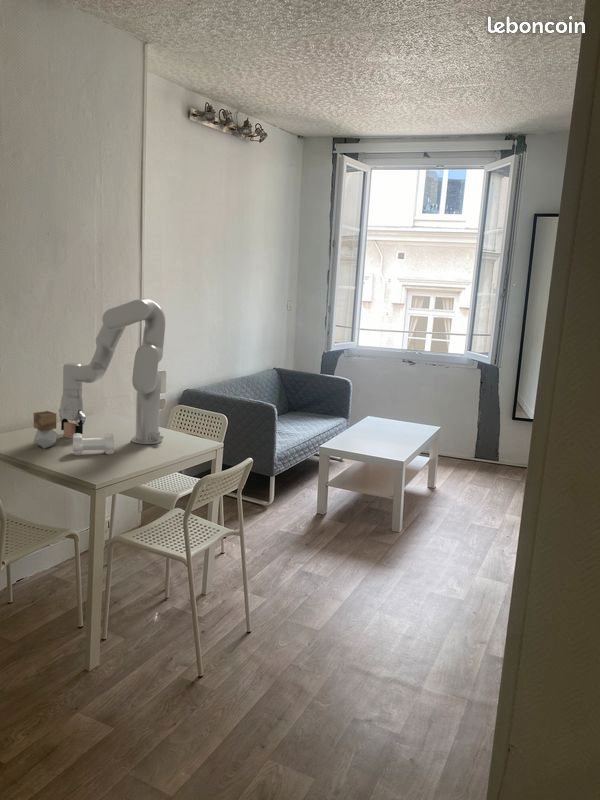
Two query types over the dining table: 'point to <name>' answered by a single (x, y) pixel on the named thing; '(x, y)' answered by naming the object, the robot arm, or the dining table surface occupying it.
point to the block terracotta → (69, 429)
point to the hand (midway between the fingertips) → (71, 432)
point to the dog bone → (93, 443)
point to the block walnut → (45, 420)
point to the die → (45, 438)
